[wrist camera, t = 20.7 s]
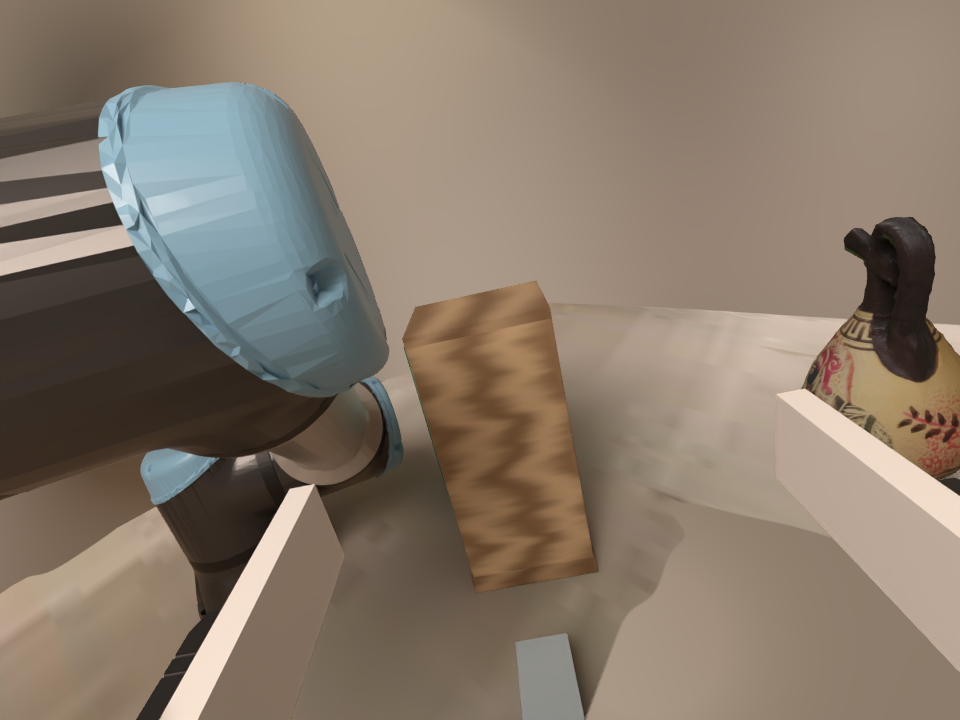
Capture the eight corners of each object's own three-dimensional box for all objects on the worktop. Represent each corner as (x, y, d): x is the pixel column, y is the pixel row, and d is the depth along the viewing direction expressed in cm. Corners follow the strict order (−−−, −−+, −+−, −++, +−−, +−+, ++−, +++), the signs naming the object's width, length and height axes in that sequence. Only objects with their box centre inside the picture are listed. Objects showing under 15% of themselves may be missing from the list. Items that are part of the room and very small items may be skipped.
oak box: (475, 592, 54) (399, 340, 43) (475, 527, 63) (413, 307, 52) (598, 571, 53) (552, 307, 42) (579, 508, 62) (537, 279, 51)
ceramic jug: (783, 438, 66) (785, 211, 55) (927, 435, 61) (962, 183, 50) (822, 528, 52) (836, 245, 40) (1016, 535, 46) (1094, 209, 35)
